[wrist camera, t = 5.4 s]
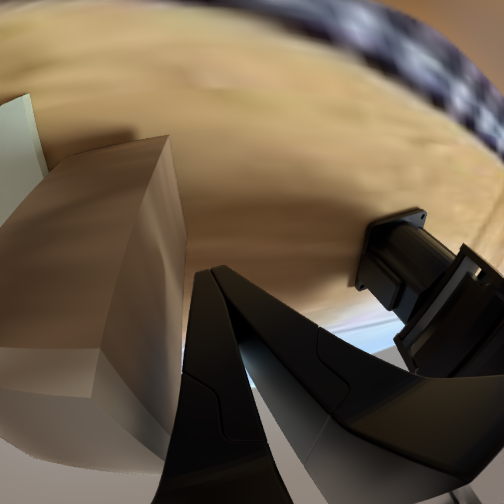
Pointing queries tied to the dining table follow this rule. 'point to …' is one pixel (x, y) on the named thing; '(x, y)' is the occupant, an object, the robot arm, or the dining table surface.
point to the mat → (18, 155)
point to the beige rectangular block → (95, 311)
